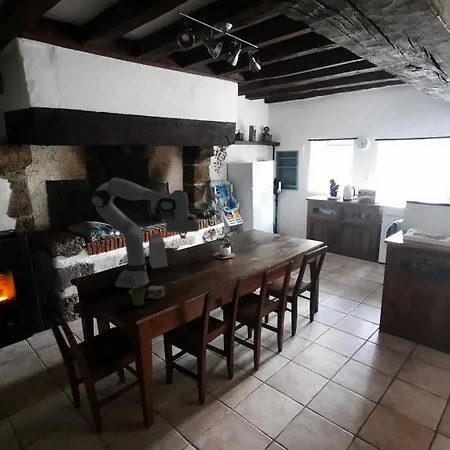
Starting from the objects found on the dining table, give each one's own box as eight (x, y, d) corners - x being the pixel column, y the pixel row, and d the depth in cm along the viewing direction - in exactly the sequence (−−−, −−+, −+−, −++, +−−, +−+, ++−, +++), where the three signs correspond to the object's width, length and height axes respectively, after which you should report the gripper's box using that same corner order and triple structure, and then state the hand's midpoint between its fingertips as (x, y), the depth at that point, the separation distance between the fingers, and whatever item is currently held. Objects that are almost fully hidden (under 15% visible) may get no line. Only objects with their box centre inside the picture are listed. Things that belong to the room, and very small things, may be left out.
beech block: (162, 297, 201) (148, 296, 202) (164, 293, 206) (151, 293, 207) (161, 289, 200) (147, 289, 201) (164, 286, 204) (150, 285, 205)
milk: (152, 268, 249) (149, 235, 243) (149, 264, 260) (146, 232, 254) (167, 266, 254) (165, 233, 248) (164, 261, 264) (162, 230, 258)
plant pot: (136, 309, 187) (134, 295, 185) (127, 304, 193) (125, 290, 191) (149, 303, 194) (148, 289, 192) (140, 298, 200) (139, 285, 198)
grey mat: (145, 298, 200) (145, 298, 200) (149, 292, 208) (149, 292, 208) (160, 298, 199) (160, 298, 199) (163, 292, 207) (163, 292, 207)
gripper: (163, 218, 198) (165, 240, 202) (197, 217, 197) (198, 239, 200) (166, 215, 204) (167, 237, 208) (198, 215, 203) (199, 236, 206)
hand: (183, 238), depth 204 cm, fingers closed
